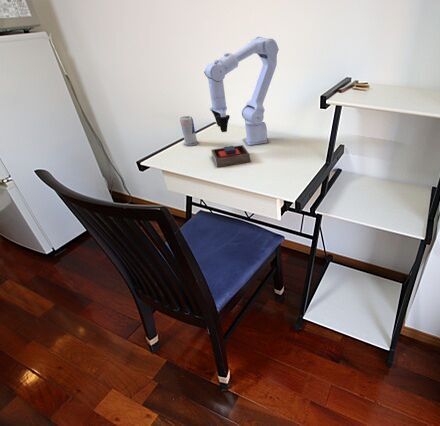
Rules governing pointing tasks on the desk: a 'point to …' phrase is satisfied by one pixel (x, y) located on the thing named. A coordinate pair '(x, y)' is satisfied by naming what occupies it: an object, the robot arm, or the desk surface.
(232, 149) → the red block
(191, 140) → the energy drink
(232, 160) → the crate
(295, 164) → the desk surface
